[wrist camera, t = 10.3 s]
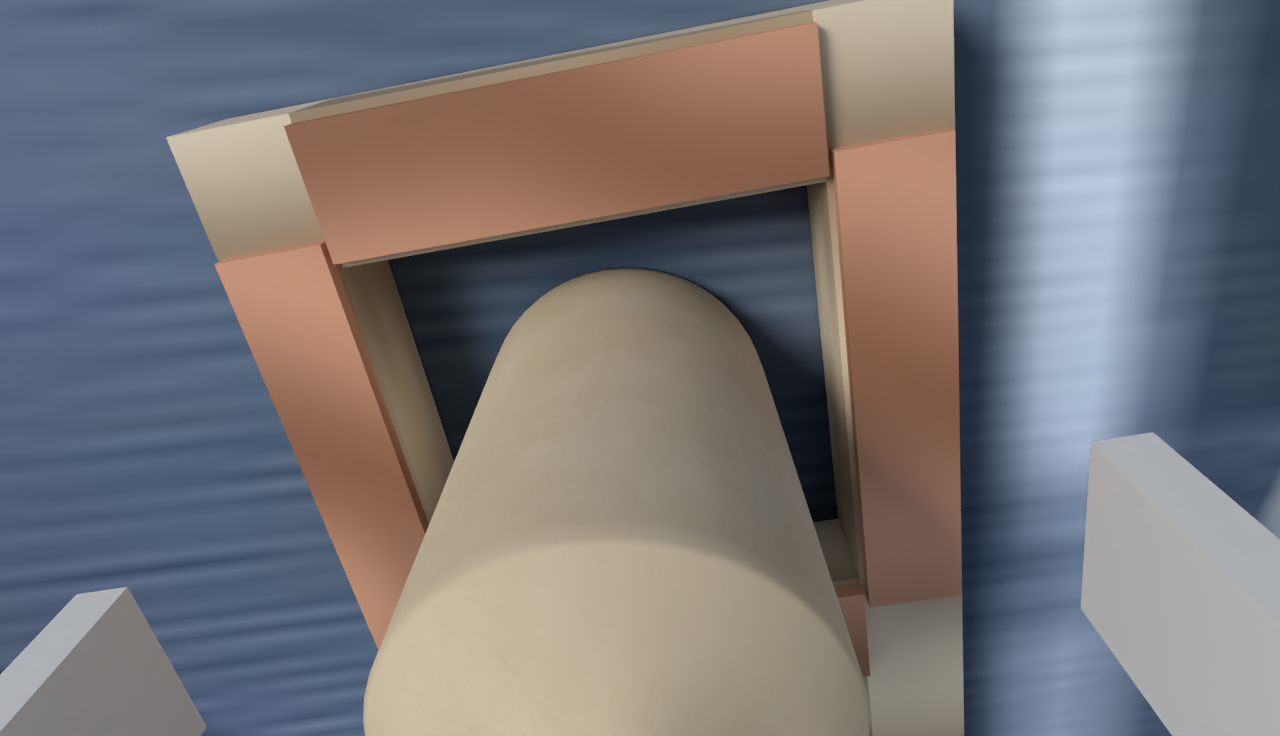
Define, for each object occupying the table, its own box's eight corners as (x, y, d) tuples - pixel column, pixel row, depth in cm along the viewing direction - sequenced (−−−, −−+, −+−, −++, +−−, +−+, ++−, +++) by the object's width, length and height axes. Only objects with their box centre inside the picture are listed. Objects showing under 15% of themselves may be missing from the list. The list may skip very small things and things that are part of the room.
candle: (519, 233, 15) (335, 595, 6) (798, 298, 16) (1016, 722, 7) (475, 474, 17) (292, 1002, 8) (720, 524, 18) (800, 1070, 9)
